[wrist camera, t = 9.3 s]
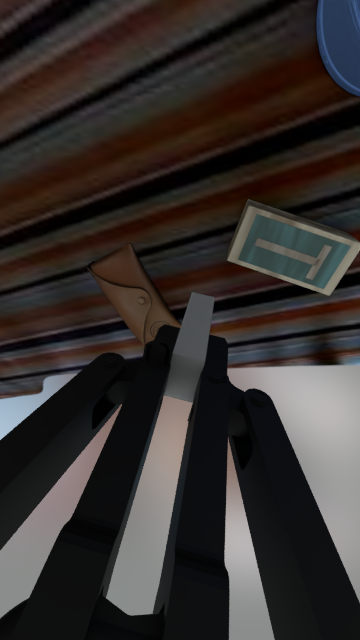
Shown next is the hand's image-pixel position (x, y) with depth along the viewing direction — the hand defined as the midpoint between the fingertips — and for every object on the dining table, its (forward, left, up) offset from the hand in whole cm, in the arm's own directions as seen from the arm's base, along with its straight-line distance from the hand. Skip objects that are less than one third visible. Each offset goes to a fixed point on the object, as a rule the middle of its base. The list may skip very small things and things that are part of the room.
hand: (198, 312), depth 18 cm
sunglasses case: (-11, -14, -26) cm, 31 cm away
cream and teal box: (+2, +1, -22) cm, 22 cm away
